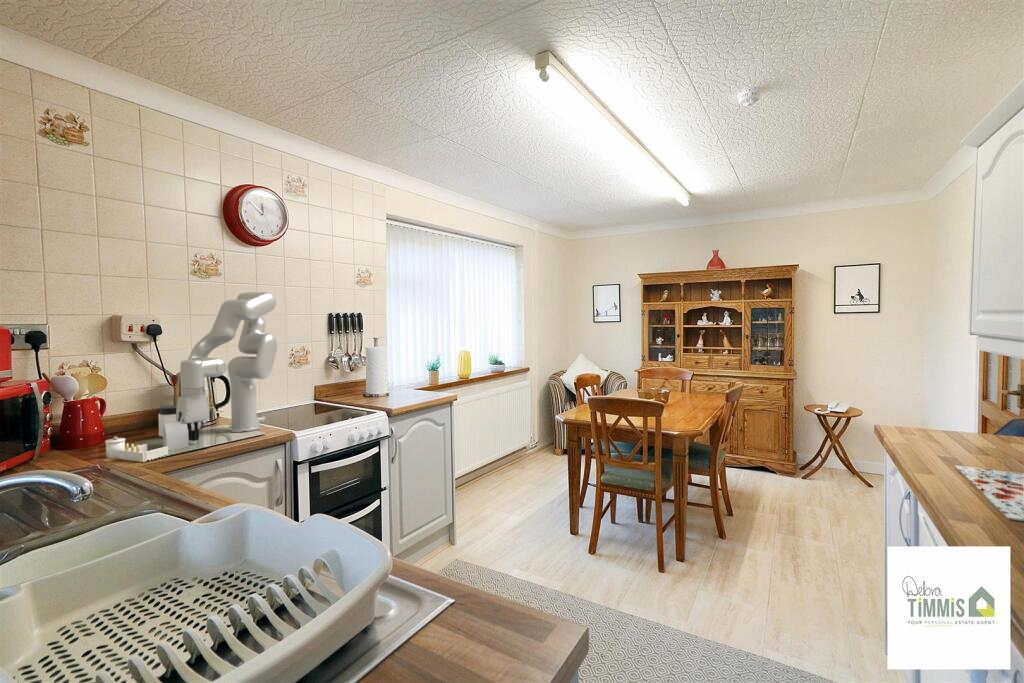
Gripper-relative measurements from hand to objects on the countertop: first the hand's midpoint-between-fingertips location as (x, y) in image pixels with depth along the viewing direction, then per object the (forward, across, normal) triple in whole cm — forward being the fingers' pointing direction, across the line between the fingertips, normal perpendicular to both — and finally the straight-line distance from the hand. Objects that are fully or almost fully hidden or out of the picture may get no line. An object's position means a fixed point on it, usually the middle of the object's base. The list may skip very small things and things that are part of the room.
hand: (193, 440), depth 179 cm
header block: (+2, +18, 0) cm, 18 cm away
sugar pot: (+2, +20, -11) cm, 23 cm away
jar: (+2, -7, -20) cm, 21 cm away
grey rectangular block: (+2, +7, 0) cm, 7 cm away
